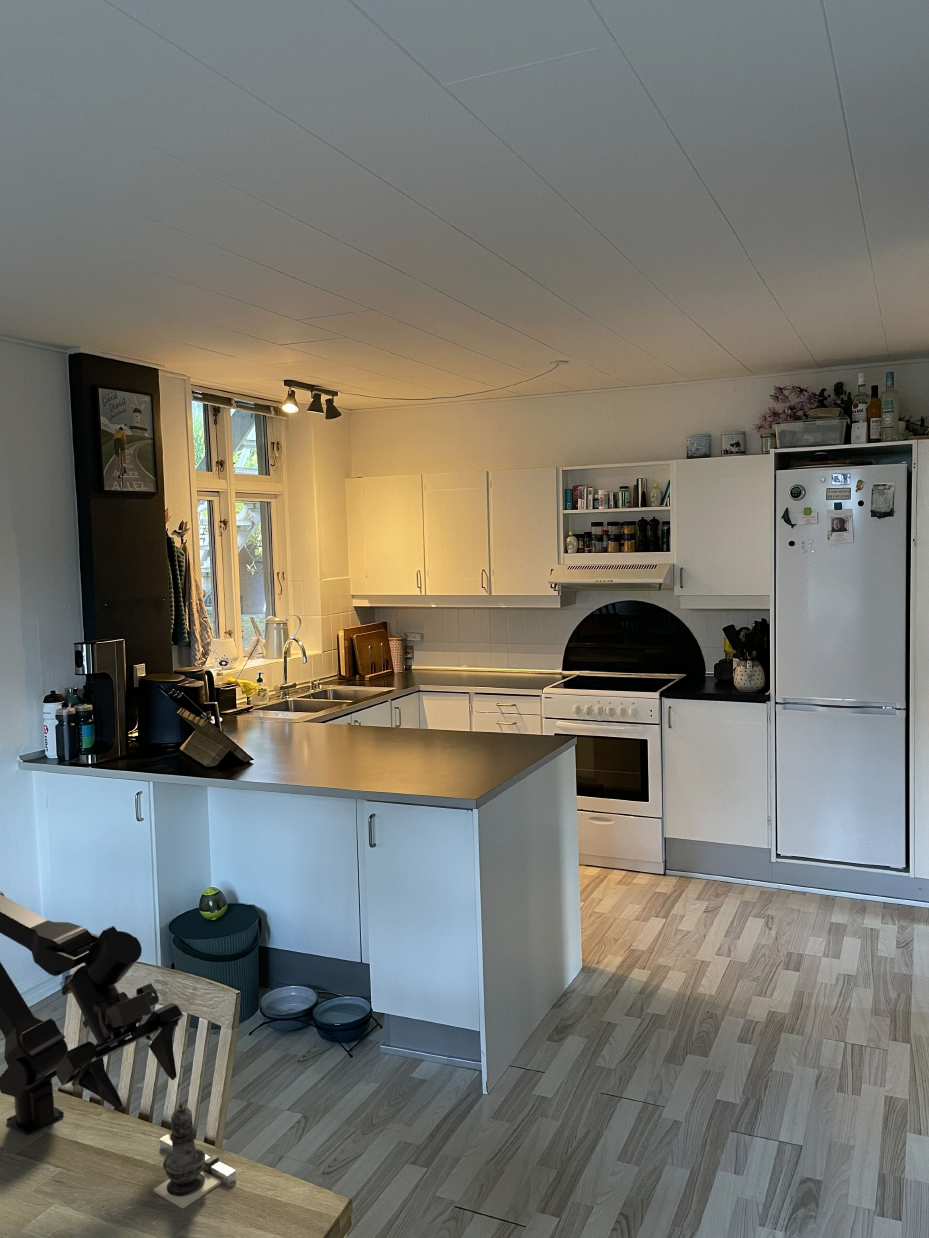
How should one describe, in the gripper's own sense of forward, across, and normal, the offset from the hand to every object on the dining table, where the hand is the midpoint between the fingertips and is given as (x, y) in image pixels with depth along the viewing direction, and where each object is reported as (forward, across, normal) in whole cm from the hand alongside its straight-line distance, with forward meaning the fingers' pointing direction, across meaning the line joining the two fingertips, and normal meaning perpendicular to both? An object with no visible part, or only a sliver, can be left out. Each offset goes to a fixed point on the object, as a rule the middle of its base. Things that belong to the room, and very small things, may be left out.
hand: (148, 1092), depth 144 cm
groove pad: (+14, 0, +2) cm, 14 cm away
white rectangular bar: (+11, +4, +5) cm, 13 cm away
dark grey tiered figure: (+14, 0, +2) cm, 14 cm away
